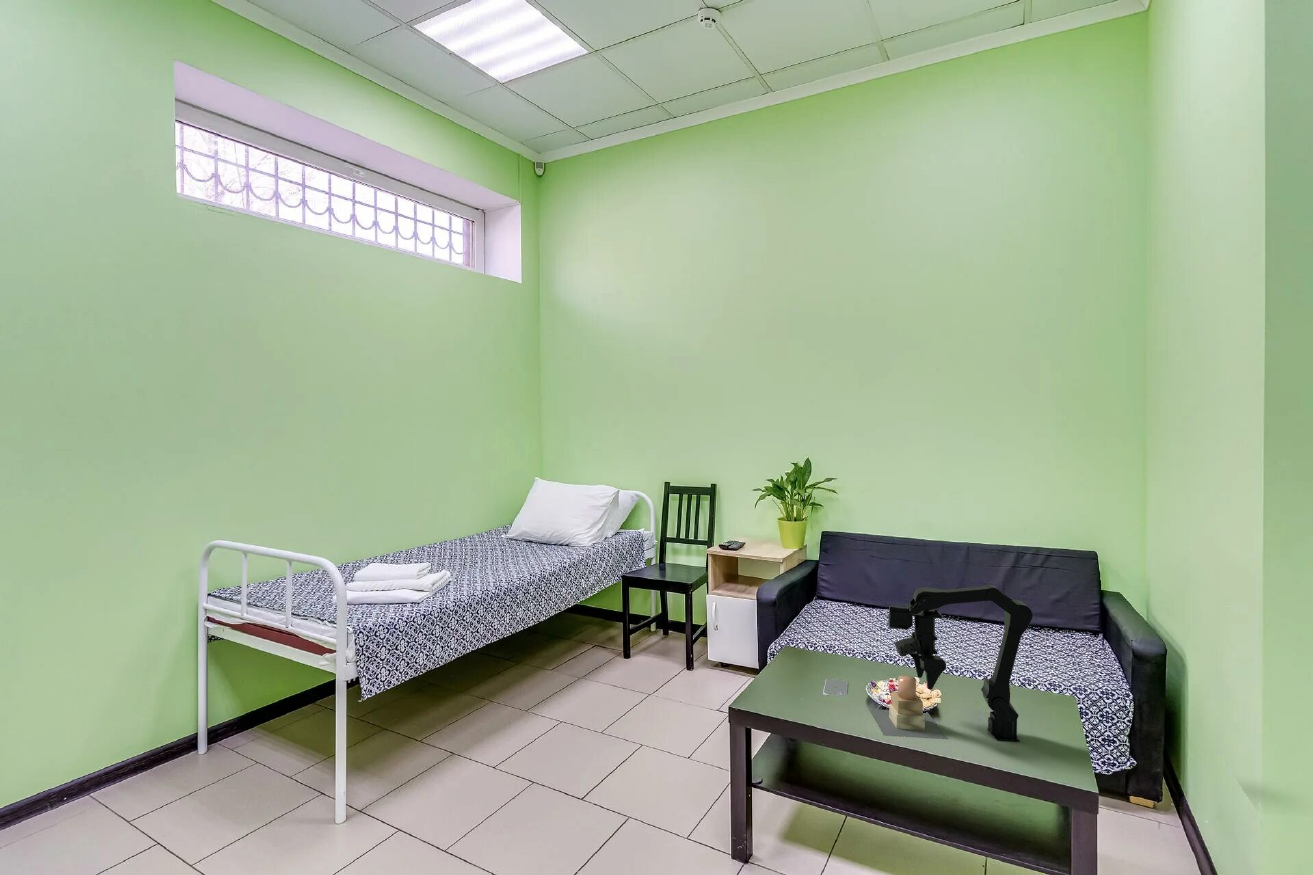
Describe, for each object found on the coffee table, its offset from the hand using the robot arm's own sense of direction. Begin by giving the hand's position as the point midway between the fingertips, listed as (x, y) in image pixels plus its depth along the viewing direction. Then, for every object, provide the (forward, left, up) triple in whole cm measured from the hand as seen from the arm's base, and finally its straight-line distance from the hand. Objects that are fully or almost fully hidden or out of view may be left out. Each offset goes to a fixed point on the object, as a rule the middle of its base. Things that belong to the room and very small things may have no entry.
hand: (924, 683), depth 188 cm
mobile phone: (+21, -26, -13) cm, 36 cm away
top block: (+5, 0, -8) cm, 10 cm away
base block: (+5, 0, -12) cm, 13 cm away
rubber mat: (+5, 0, -13) cm, 14 cm away
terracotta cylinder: (+5, 0, -4) cm, 7 cm away
